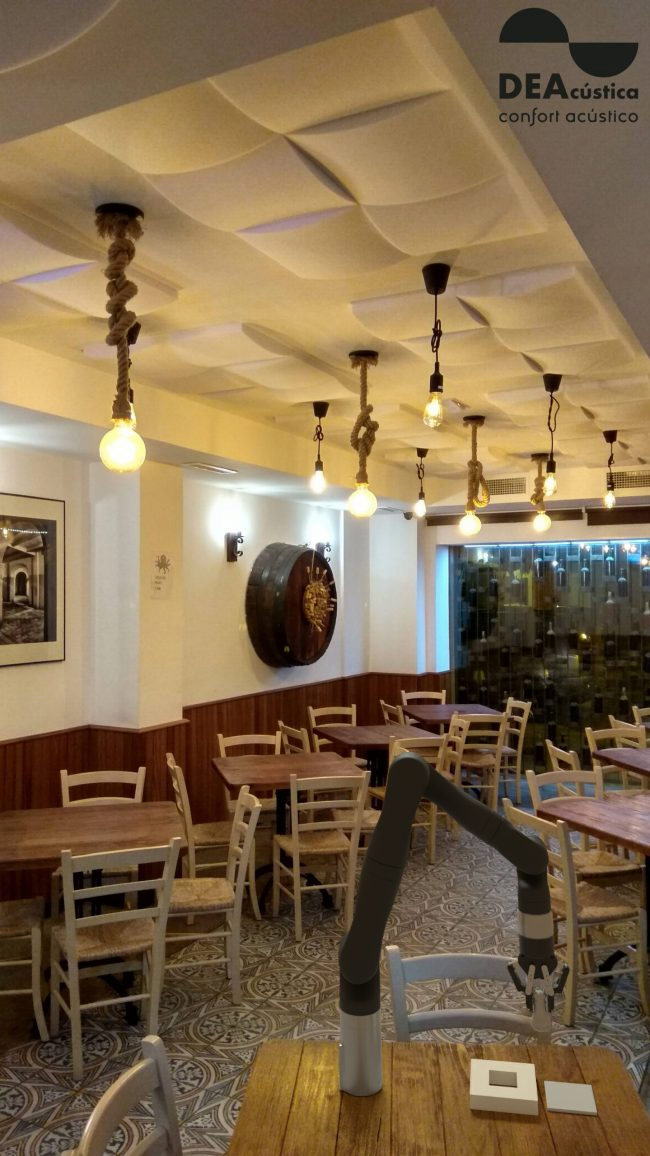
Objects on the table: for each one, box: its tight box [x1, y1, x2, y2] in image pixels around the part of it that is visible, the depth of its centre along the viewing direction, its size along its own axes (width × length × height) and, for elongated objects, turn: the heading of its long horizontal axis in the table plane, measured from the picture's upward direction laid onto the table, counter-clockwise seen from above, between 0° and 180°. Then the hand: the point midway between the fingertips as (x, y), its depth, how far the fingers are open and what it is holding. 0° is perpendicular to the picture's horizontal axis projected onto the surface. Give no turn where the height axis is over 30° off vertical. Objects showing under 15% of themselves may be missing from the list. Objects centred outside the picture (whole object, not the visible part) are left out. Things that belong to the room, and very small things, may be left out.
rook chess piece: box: [530, 987, 552, 1033], centre depth 178 cm, size 4×4×8 cm
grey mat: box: [543, 1080, 598, 1116], centre depth 176 cm, size 10×10×1 cm
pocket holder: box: [469, 1058, 539, 1116], centre depth 179 cm, size 14×14×3 cm
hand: (540, 1010), depth 178 cm, fingers closed on rook chess piece, 3 cm apart
